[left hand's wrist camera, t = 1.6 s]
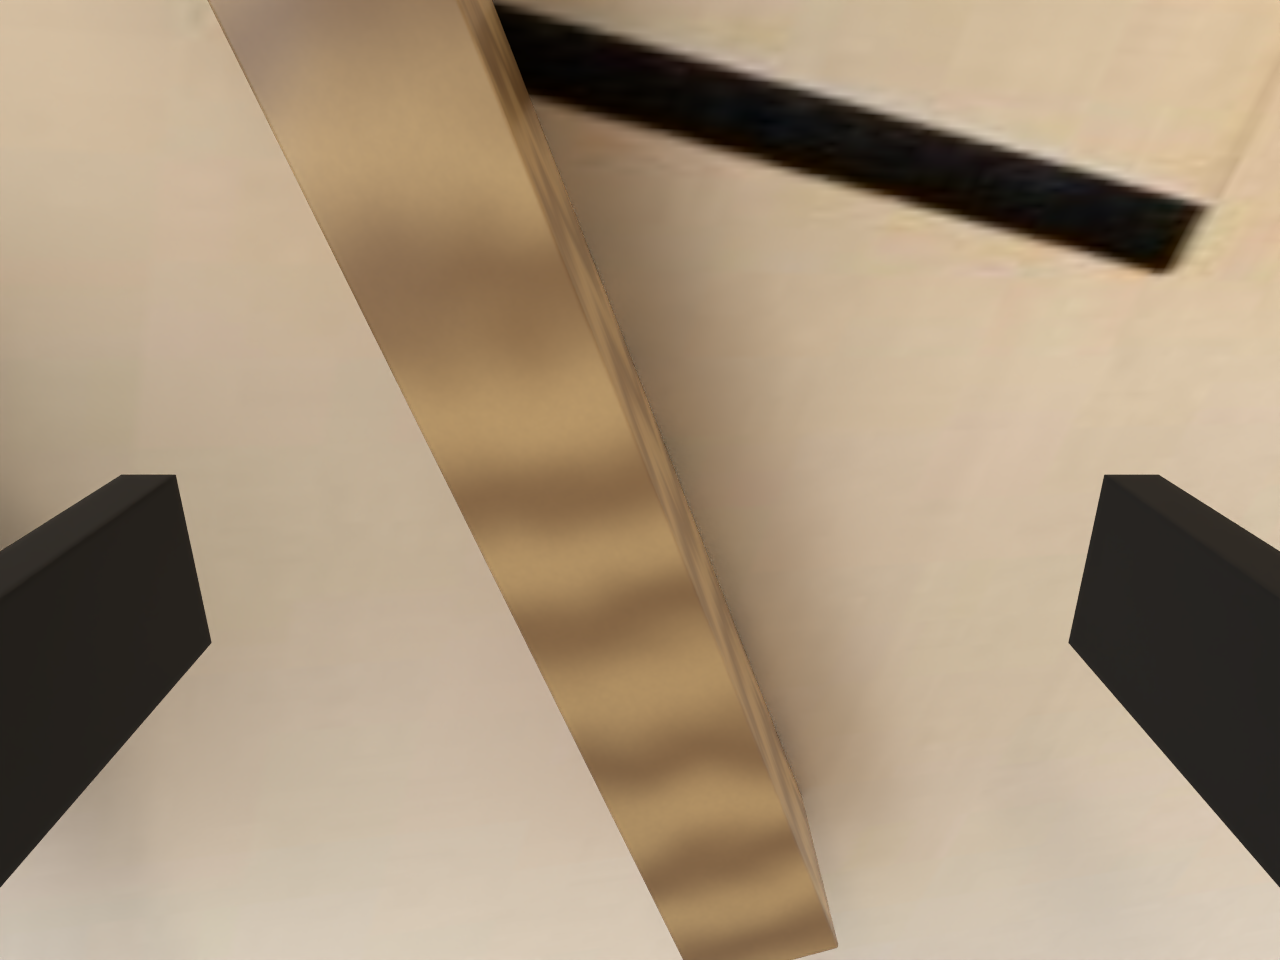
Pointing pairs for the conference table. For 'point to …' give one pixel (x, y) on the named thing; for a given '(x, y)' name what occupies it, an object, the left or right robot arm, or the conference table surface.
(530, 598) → the beam
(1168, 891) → the conference table surface
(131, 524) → the left robot arm
